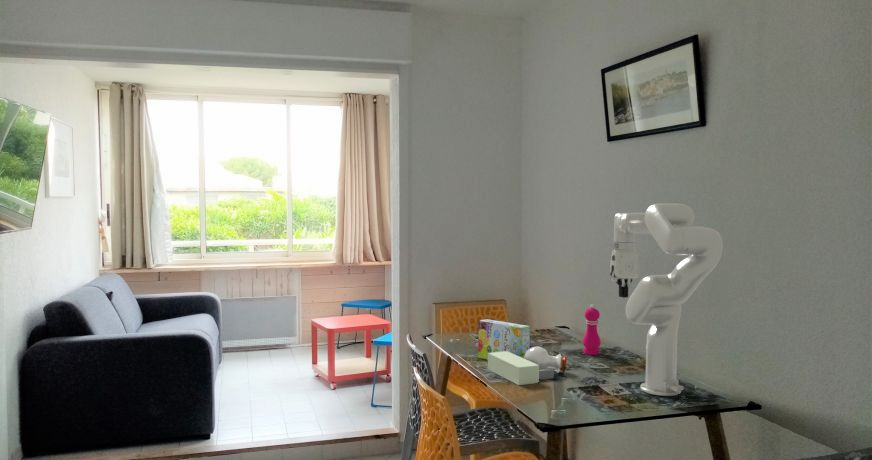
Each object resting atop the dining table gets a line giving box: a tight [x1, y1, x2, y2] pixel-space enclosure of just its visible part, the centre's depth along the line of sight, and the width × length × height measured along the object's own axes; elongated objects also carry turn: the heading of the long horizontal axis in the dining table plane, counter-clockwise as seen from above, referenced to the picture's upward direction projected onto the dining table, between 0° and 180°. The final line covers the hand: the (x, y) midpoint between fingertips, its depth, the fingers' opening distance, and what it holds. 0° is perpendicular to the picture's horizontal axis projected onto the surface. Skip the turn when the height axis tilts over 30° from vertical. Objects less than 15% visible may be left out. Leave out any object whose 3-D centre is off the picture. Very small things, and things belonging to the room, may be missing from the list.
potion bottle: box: [524, 346, 568, 374], centre depth 230 cm, size 9×10×15 cm
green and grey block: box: [487, 351, 555, 386], centre depth 227 cm, size 22×16×6 cm
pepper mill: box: [582, 303, 602, 356], centre depth 259 cm, size 7×7×20 cm
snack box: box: [477, 319, 531, 361], centre depth 245 cm, size 21×6×15 cm, turn 47°
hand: (623, 296), depth 232 cm, fingers closed
